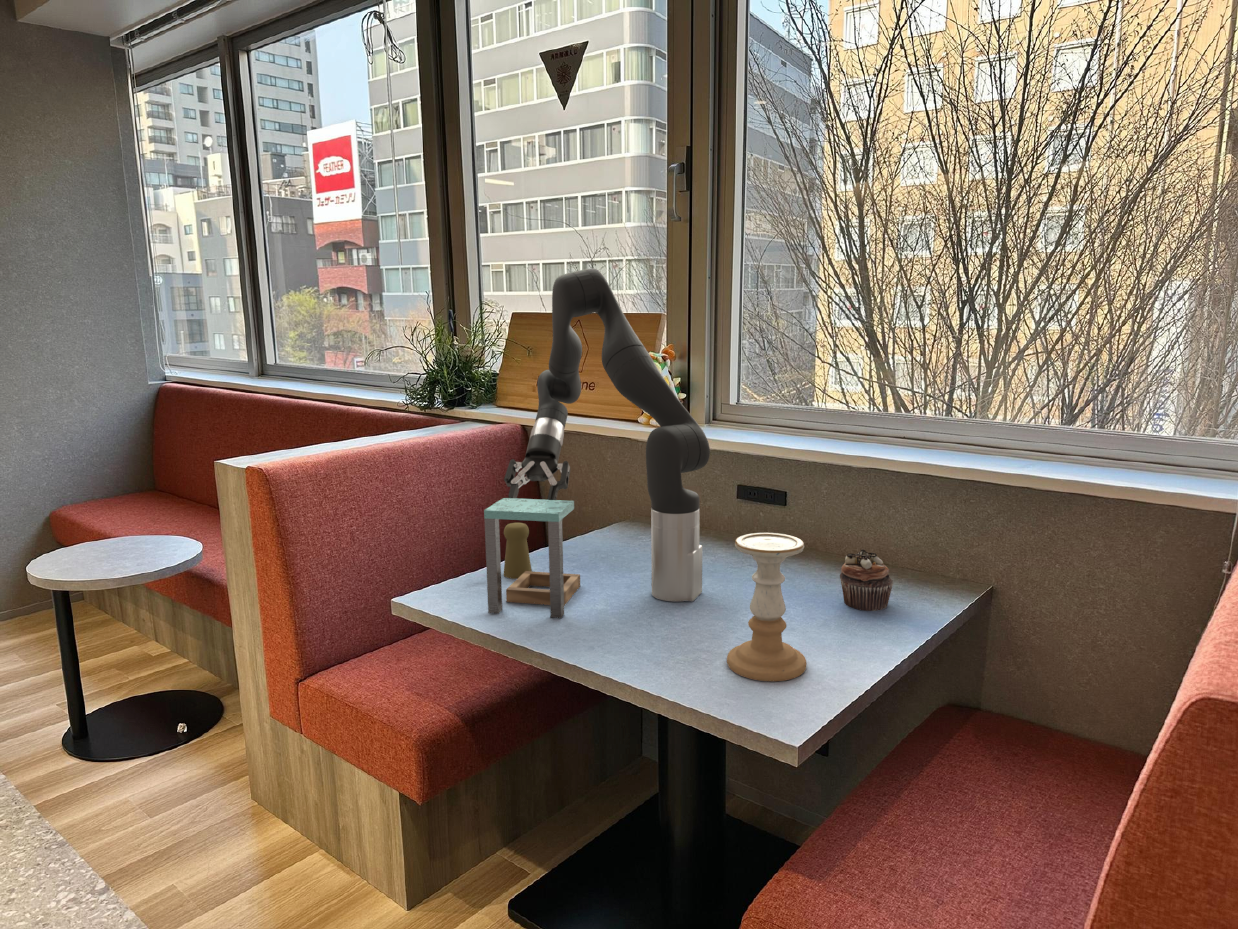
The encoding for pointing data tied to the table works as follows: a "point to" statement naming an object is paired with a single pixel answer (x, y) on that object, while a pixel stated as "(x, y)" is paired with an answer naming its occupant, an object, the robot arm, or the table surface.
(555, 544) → the mint green stool
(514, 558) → the cork
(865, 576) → the cupcake
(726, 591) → the table surface
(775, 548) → the candle holder
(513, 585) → the socket
